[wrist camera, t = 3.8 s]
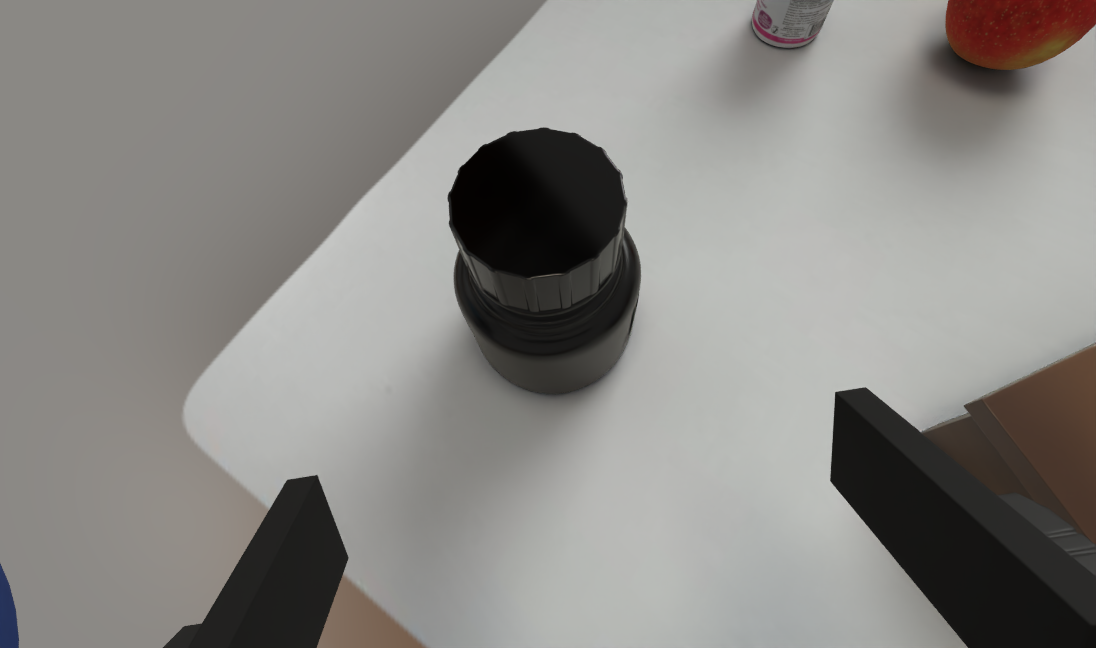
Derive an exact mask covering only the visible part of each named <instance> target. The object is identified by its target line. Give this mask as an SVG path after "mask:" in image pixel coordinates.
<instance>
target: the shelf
mask: <svg viewBox="0 0 1096 648" xmlns="http://www.w3.org/2000/svg"><path fill="white" fill-rule="evenodd" d="M964 407H965V408H966V410H967V411H968V412H969V413H967V414H964V415H962V416H959V417H956V418H953V419H951V420H948V421H945V422H942V423H940V424H938V425H935V426H933V427H931V428H929V429H927V430H925V431H923V432H921V433H922V434H923V435H924V436H926V437H927V438H928V439H929V440H930V441H932V442H933V443H934V444H935V445H937V446H938V447H939V448H940V449H941V450H943V451H944V452H945V453H946V454H948V455H949V456H950V457H951V458H952V459H954V460H955V461H956V462H957V463H958V464H960V465H961V466H962V467H963V468H965V469H966V470H967V471H968V472H969V473H971V474H972V475H973V476H974V477H976V478H977V479H978V480H979V481H980V482H982V483H983V484H984V485H985V486H987V487H988V488H989V489H990V490H991V491H993V492H994V493H995V494H996V495H1001V494H1008V493H1014V492H1016V493H1018V494H1020V495H1022V496H1024V497H1026V498H1028V499H1030V500H1032V501H1035V502H1037V503H1039V504H1041V505H1043V506H1045V507H1047V508H1049V509H1050V510H1052V511H1053V512H1054V513H1055V514H1057V515H1058V516H1059V517H1061V518H1062V519H1063V520H1065V521H1066V522H1067V523H1069V524H1070V525H1071V526H1072V527H1074V528H1075V529H1076V532H1077V533H1078V534H1079V533H1082V534H1083V535H1084V536H1085V537H1087V538H1088V539H1089V540H1091V541H1092V542H1093V543H1095V544H1096V343H1094V344H1092V345H1090V346H1088V347H1086V348H1083V349H1081V350H1079V351H1077V352H1075V353H1073V354H1071V355H1069V356H1067V357H1065V358H1062V359H1060V360H1058V361H1056V362H1054V363H1052V364H1050V365H1048V366H1046V367H1043V368H1041V369H1039V370H1037V371H1035V372H1033V373H1031V374H1029V375H1027V376H1024V377H1022V378H1020V379H1018V380H1016V381H1014V382H1012V383H1010V384H1008V385H1006V386H1003V387H1001V388H999V389H997V390H995V391H993V392H991V393H989V394H987V395H984V396H982V397H980V398H978V399H976V400H974V401H972V402H970V403H968V404H965V405H964Z"/></svg>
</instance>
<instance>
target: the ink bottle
mask: <svg viewBox="0 0 1096 648" xmlns="http://www.w3.org/2000/svg"><path fill="white" fill-rule="evenodd" d="M622 179H623V176H622V173H621V171H620V170H619V169H617V168H616V166H615V165H614V163H613V162H612V161H611V159H610V158H609V157H608V156H607V154H606V151H605V150H604V149H602V148H601V147H597V146H596V145H594V144H592V143H591V142H589V141H587V140H586V139H584V138H582V137H581V136H580V135H579V134H576V133H568V132H563V131H557V130H551V129H549V128H539V129H534V130H526V131H519V132H516V131H513V132H510V133H508V134H507V135H505V136H503V137H501V138H499V139H497V140H495V141H493V142H491V143H489V144H485V145H483V146H481V147H480V148H479V149H478V151H477V152H476V153H475V154H474V155H473V156H472V157H471V158H470V159H469V160H468V161H467V162H466V163H465V164H464V165H462V166H461V167H460V168H459V170H458V175H457V177H456V179H455V182H454V184H453V187H452V189H451V191H450V192H449V194H448V202H449V215H450V221H449V226H450V228H451V231H452V233H453V236H454V238H455V240H456V243H457V245H458V248H459V252H458V254H457V258H456V262H455V267H454V289H455V294H456V298H457V301H458V304H459V307H460V309H461V312H462V314H463V316H464V318H465V320H466V322H467V324H468V326H469V327H470V329H471V331H472V333H473V335H474V337H475V339H476V341H477V343H478V345H479V347H480V349H481V351H482V353H483V354H484V356H485V357H486V359H487V360H488V362H489V363H490V364H491V366H492V367H493V368H494V369H495V370H496V371H497V372H498V373H499V374H501V375H502V376H503V377H504V378H506V379H507V380H509V381H510V382H512V383H514V384H515V385H517V386H519V387H522V388H524V389H527V390H530V391H533V392H538V393H544V394H560V393H567V392H571V391H575V390H578V389H580V388H583V387H585V386H587V385H589V384H591V383H593V382H594V381H596V380H597V379H599V378H600V377H601V376H603V375H604V374H605V373H606V372H607V371H609V370H610V369H611V368H612V366H613V365H614V364H615V363H616V362H617V360H618V359H619V358H620V356H621V354H622V353H623V351H624V349H625V347H626V345H627V343H628V340H629V337H630V336H631V334H630V333H631V331H632V326H633V321H634V316H635V312H636V307H637V302H638V296H639V290H640V283H641V265H640V259H639V255H638V251H637V249H636V246H635V244H634V241H633V239H632V237H631V236H630V234H629V232H628V231H627V229H626V228H625V219H626V210H627V198H626V197H625V191H624V186H623V181H622Z"/></svg>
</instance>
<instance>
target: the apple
mask: <svg viewBox="0 0 1096 648" xmlns="http://www.w3.org/2000/svg"><path fill="white" fill-rule="evenodd" d="M1095 24H1096V0H949V1H948V6H947V11H946V34H947V38H948V41H949V44H950V46H951V47H952V49H953V50H954V52H955V53H956V54H957V55H959V56H960V57H961V58H963V59H964V60H966V61H968V62H971V63H973V64H976V65H979V66H982V67H986V68H991V69H998V70H1014V69H1020V68H1026V67H1030V66H1033V65H1036V64H1039V63H1042V62H1044V61H1046V60H1048V59H1051V58H1053V57H1055V56H1057V55H1058V54H1060V53H1061V52H1063V51H1065V50H1066V49H1068V48H1069V47H1071V46H1072V45H1073V44H1075V43H1076V42H1077V41H1079V40H1080V39H1081V38H1082V37H1083V36H1084V35H1085V34H1086V33H1087V32H1088V31H1089V30H1090V29H1092V28H1093V27H1094V26H1095Z"/></svg>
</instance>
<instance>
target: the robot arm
mask: <svg viewBox="0 0 1096 648" xmlns="http://www.w3.org/2000/svg"><path fill="white" fill-rule="evenodd" d="M830 481H831V482H832V484H833V485H834V486H835V487H836V489H837V490H838V491H839V492H840V493H841V495H842V496H843V497H844V498H845V499H846V501H847V502H848V503H849V504H850V505H851V507H852V508H853V509H854V510H855V511H856V513H857V514H858V515H859V516H860V518H861V519H862V520H863V521H864V522H865V524H866V525H867V526H868V527H869V528H870V530H871V531H872V532H873V533H874V534H875V536H876V537H877V538H878V539H879V540H880V542H881V543H882V544H883V545H884V546H885V548H886V549H887V550H888V551H889V553H890V554H891V555H892V556H893V557H894V559H895V560H896V561H897V562H898V563H899V565H900V566H901V567H902V568H903V569H904V571H905V572H906V573H907V574H908V575H909V577H910V578H911V579H912V580H913V582H914V583H915V584H916V585H917V586H918V588H919V589H920V590H921V591H922V592H923V594H924V595H925V596H926V597H927V598H928V600H929V601H930V602H931V603H932V604H933V606H934V607H935V608H936V609H937V611H938V612H939V613H940V614H941V615H942V617H943V618H944V619H945V620H946V621H947V623H948V624H949V625H950V626H951V627H952V629H953V630H954V631H955V632H956V633H957V635H958V636H959V637H960V638H961V639H962V641H963V642H964V643H965V644H966V646H967V647H968V648H1096V544H1095V543H1093V542H1092V541H1091V540H1089V539H1088V538H1087V537H1085V536H1084V535H1083V534H1082V533H1079V534H1078V533H1077V532H1076V529H1075V528H1074V527H1072V526H1071V525H1070V524H1069V523H1067V522H1066V521H1065V520H1063V519H1062V518H1061V517H1059V516H1058V515H1057V514H1055V513H1054V512H1053V511H1052V510H1050V509H1049V508H1047V507H1045V506H1043V505H1041V504H1039V503H1037V502H1035V501H1032V500H1030V499H1028V498H1026V497H1024V496H1022V495H1020V494H1018V493H1016V492H1014V493H1008V494H1001V495H996V494H995V493H994V492H993V491H991V490H990V489H989V488H988V487H987V486H985V485H984V484H983V483H982V482H980V481H979V480H978V479H977V478H976V477H974V476H973V475H972V474H971V473H969V472H968V471H967V470H966V469H965V468H963V467H962V466H961V465H960V464H958V463H957V462H956V461H955V460H954V459H952V458H951V457H950V456H949V455H948V454H946V453H945V452H944V451H943V450H941V449H940V448H939V447H938V446H937V445H935V444H934V443H933V442H932V441H930V440H929V439H928V438H927V437H926V436H924V435H923V434H922V433H921V432H919V431H918V430H917V429H916V428H915V427H913V426H912V425H911V424H910V423H909V422H907V421H906V420H905V419H904V418H902V417H901V416H900V415H899V414H898V413H896V412H895V411H894V410H893V409H891V408H890V407H889V406H888V405H887V404H885V403H884V402H883V401H882V400H880V399H879V398H878V397H877V396H876V395H874V394H873V393H872V392H871V391H870V390H868V389H867V388H866V387H865V388H859V389H852V390H846V391H840V392H835V408H834V425H833V443H832V461H831V478H830ZM347 561H348V555H347V552H346V550H345V547H344V544H343V542H342V539H341V537H340V534H339V531H338V529H337V526H336V523H335V521H334V518H333V515H332V513H331V510H330V507H329V505H328V502H327V500H326V497H325V494H324V492H323V489H322V486H321V484H320V481H319V478H318V476H317V475H315V476H309V477H303V478H296V479H290V480H287V481H286V483H285V484H284V486H283V488H282V490H281V491H280V493H279V495H278V496H277V498H276V500H275V501H274V503H273V505H272V506H271V508H270V510H269V511H268V513H267V515H266V517H265V518H264V520H263V522H262V523H261V525H260V527H259V529H258V530H257V532H256V533H255V535H254V537H253V539H252V540H251V542H250V544H249V545H248V547H247V549H246V551H245V552H244V554H243V555H242V557H241V559H240V560H239V562H238V564H237V565H236V567H235V569H234V571H233V572H232V574H231V576H230V577H229V579H228V581H227V582H226V584H225V586H224V588H223V589H222V591H221V592H220V594H219V596H218V598H217V599H216V601H215V603H214V604H213V606H212V608H211V609H210V611H209V613H208V615H207V616H206V618H205V619H204V621H203V623H202V624H196V625H190V626H184V627H183V628H182V629H181V630H180V631H179V632H178V633H177V634H176V635H175V636H174V637H173V638H172V639H171V640H170V641H169V642H168V643H167V644H166V645H165V646H164V647H163V648H317V645H318V642H319V639H320V636H321V634H322V631H323V628H324V625H325V622H326V619H327V617H328V614H329V611H330V608H331V605H332V603H333V600H334V597H335V594H336V592H337V589H338V586H339V583H340V581H341V578H342V575H343V572H344V569H345V567H346V564H347Z"/></svg>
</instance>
